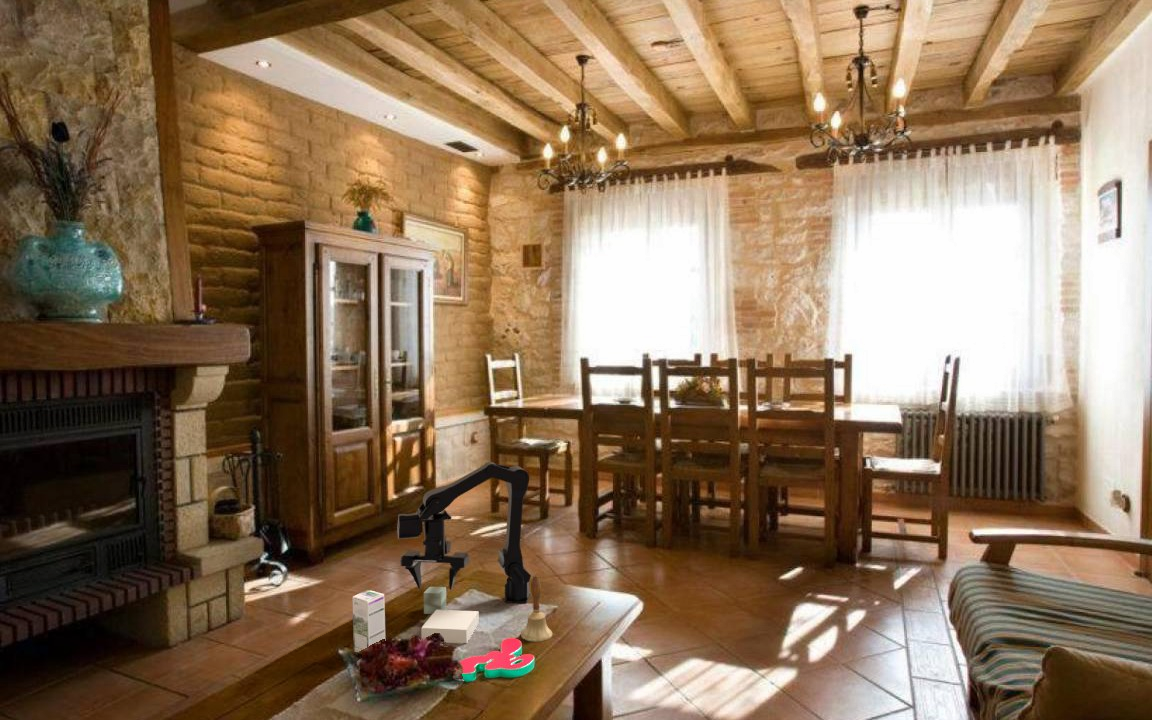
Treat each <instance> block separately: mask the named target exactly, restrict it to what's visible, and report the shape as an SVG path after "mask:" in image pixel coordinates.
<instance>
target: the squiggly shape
mask: <svg viewBox="0 0 1152 720" xmlns="http://www.w3.org/2000/svg"><path fill="white" fill-rule="evenodd" d="M499 647H500V651H498V650H493V651H489V652H488V653H486V654H485V655H476V656H470V657H466V658H464V659H462V660H460V661H459V662H460V663H461V665H462V667H463V673H462V676H463V680H464V681H466V683H467V682H473V681H475V680H476V679H477V674H478V673H480V672H484V673H483V675H484V677H485V678H488V679H494V678H499V677H502V678H519V677H522V676H525V675H528V673H530V672H532V671H533V669H534V668H535V655H533V654H530V653H527V654H523V642H522V641H521V640H519V639H517V638H515V637H510V638H509V637H508V638H505V639H503V640H502V641H501V642H500V646H499ZM520 655H521V656H520ZM477 672H478V673H477Z"/></svg>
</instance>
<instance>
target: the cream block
mask: <svg viewBox="0 0 1152 720" xmlns="http://www.w3.org/2000/svg"><path fill="white" fill-rule="evenodd" d="M479 616H480V612H479V611H478V610H477V611H475V610H457V609H456V610H453V609H452V610H451V609H445V610H436V611H435V612H434V613H433V614H430V617H428V619H427V620H426V622H425V623H424V624H423V625H422V626H421V630H420V631H421V639H422V638H426V637H428V636H430V635H432V634H434V633H440V634H441V635H442V636H443V637H444V640H445V642H446V643H448V644H463V643H467V644H468V643H469V641H470V639H471V638H472V636H473V635H472V634H474V633H475V631H476V630H477V628H478V627H477V625H478V624H479V625H480V622H479V621H480V617H479ZM479 625H478V626H479ZM476 627H477V628H476ZM475 629H476V630H475ZM474 630H475V631H474ZM473 632H474V633H473ZM471 635H472V636H471ZM470 637H471V638H470ZM468 640H469V641H468ZM446 643H445V644H446Z"/></svg>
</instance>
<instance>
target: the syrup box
mask: <svg viewBox="0 0 1152 720" xmlns="http://www.w3.org/2000/svg"><path fill="white" fill-rule="evenodd" d="M385 603H386V601H385V593H381V592H377V591H374V590H371V589H368V590H364V591H362V592H360V593H358V594H356V595H353V596H352V621H353V624H352V625H353V626H352V628H353V629H352V630H353V632H352V633H353V653H354V652H359V651H361V650H363V649H365V648H367V647H369V646H370V645H372V644H374V643H376V642H379V641H380V640H382V639H385V640H386V615H385V613H386V610H385V609H386V608H385V605H386V604H385Z"/></svg>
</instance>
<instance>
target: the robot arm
mask: <svg viewBox="0 0 1152 720" xmlns="http://www.w3.org/2000/svg"><path fill="white" fill-rule="evenodd" d="M492 478H494V479H497V480H499V481H503V482H505V483H506V484H505V486H506V490H507V494H508V495H507V496H508V500H507V501H508V503H507V517H506V532H505V533H506V535H505V543H504V546H503V548H500V547H499V548H498V558H497V563H498V564H499V567H500V568H501V570H502V571H503V572H504V574H505V575H506V576H507V579H506V583H504V598H505V603H518V604H519V603H520V604H521V603H522V604H526V603H527V602H528V601H529V599H530V597H531V593H530V580H531V577H532V576H531V575H532V574H530V573H529V572H528V570H527V568H525V566H524V559H523V554H522V550H521V537H522V535H521V534H522V520H523V505H524V497H525V495H526V493H527V491H528V487H529V483H530V475H529V473H528V472H527V471H526V470H525V469H523V468H522V467H521V466H517V465H512V466H511V467H509V466H507V465H502V464H498V463H495V462H493V461H487V462H485V464H483V465H481V466H480V467H478V468H477V469H475V470H472V471H471V472H470V473H468V474H465V475H464V476H463V477H461V478H459V479H457V480H455V481H453V482H451V483H449V484H447V485H442V486H438V487H435V488H433V489H430V490H428V491H427V492H425V494H424V495H423V498H422V503H421V504H420V505H419V507H418V508H417V510H416V512H415V513H406V514H405V513H399V514H397V515H398V517H397V518H398V519H397V524H396V528H397V529H396V530H397V532H396V533H397V539H398V540H403V539H404V540H405V539H412V538H419V537H420V536H421V535H422V534H423V531H424V534H423V535H424V540H423V542H422V544H423V546H424V554H423V555H422V554H421V552H420V551H419V550H418V551H417V550H415V551H414V550H408V551H406V552H405V553H404V554H402V556H401V557H400V566H401V567H404V569H405V570H408V572H409V573H410V574H411V577H412V578H413V580H414V582H415V584H416V586H417V588H418V589H419V590H420V589H422V573H421V571H422V570H421V566H422V563H432V564H433V563H437V564H438V563H439V564H449V565H450V567H449V569H448V571H449V573H448V577H449V579H448V581H449V583H448V587H449V590H450V591H451V590H452V589H453V588H454V584H455V581H456V578H457V575H458V573H459V571H461V570H462V569H464V568H465V567H466V566H467V565H468V563H469V562H470V556H469V554H468V553H467V552H454V553H453V554H452V555H448V553H451V546H452V541H449V540H447V535H446V534H445V532H446V531H445V530H446V529H445V528H446V527H445V525H446V524H445V523H446V522H445V521H448V520H451V519H452V516H451V514H450V513H448V512H447V510H446V509H447V508H448V507H449V506H450V505H451V504H452V503H453V502H455V500H456V499H457V498H459V497H461V496H462V495H464V494H466V493H468V492H469V491H471V490H472V489H474V488H476V487H478V486H480V485H481V484H483V483H485V482H487V481H488V480H490V479H492ZM423 523H424V524H423ZM423 526H424V528H423Z"/></svg>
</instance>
